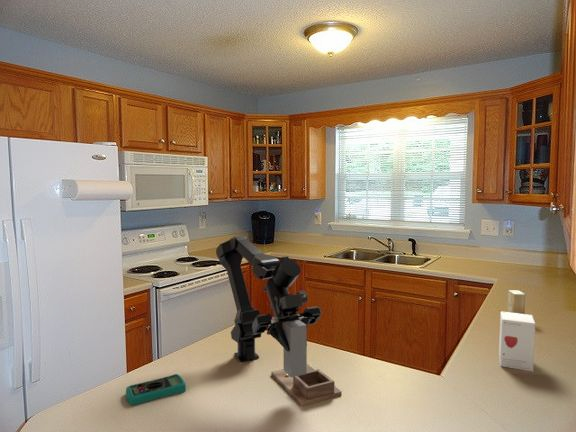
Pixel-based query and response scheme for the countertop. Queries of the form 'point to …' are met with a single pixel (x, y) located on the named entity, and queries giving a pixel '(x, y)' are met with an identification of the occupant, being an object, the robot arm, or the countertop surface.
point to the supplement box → (517, 341)
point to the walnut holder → (308, 386)
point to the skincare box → (516, 302)
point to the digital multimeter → (155, 389)
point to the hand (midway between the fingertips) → (297, 349)
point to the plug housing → (295, 348)
